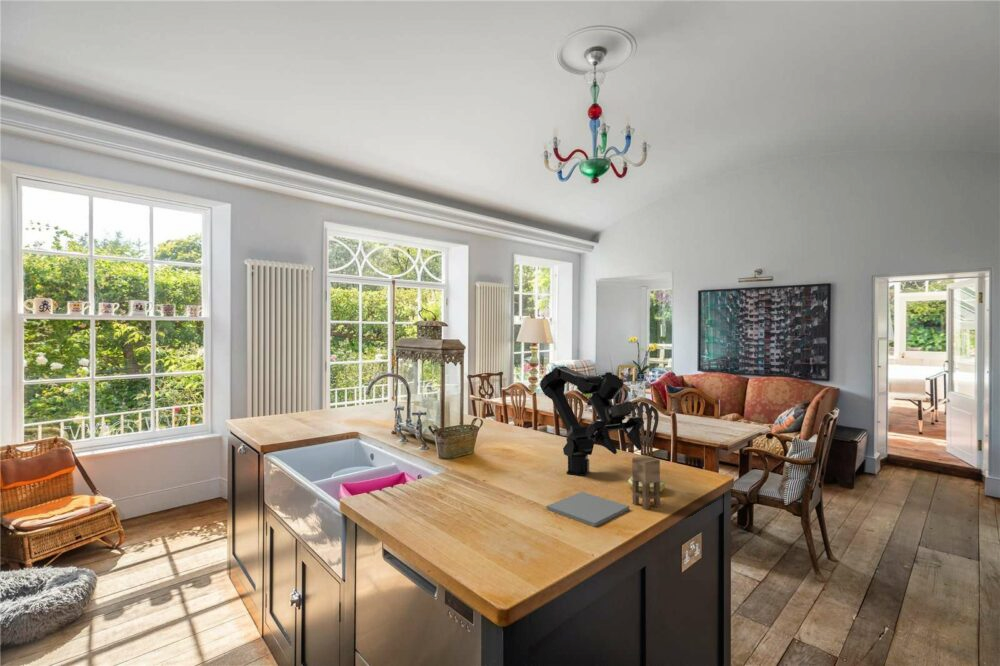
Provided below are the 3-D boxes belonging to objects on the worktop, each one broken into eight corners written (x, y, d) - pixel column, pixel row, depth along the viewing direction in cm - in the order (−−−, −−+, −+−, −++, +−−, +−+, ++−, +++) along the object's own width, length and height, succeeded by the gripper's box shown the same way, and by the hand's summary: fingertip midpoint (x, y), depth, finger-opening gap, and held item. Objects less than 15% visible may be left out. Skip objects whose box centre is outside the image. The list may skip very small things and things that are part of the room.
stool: (632, 503, 131) (632, 457, 131) (646, 500, 133) (646, 455, 133) (645, 509, 126) (645, 462, 126) (660, 506, 129) (659, 460, 129)
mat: (546, 509, 127) (546, 505, 127) (582, 494, 138) (581, 491, 138) (594, 527, 116) (594, 523, 116) (629, 509, 127) (629, 506, 127)
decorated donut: (648, 483, 149) (648, 471, 149) (672, 493, 139) (671, 481, 139) (621, 487, 146) (621, 475, 146) (643, 498, 136) (643, 485, 136)
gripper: (590, 394, 137) (615, 439, 127) (639, 390, 145) (666, 432, 135) (576, 417, 144) (598, 461, 134) (623, 412, 152) (647, 453, 142)
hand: (628, 451), depth 136 cm, fingers open, 9 cm apart
